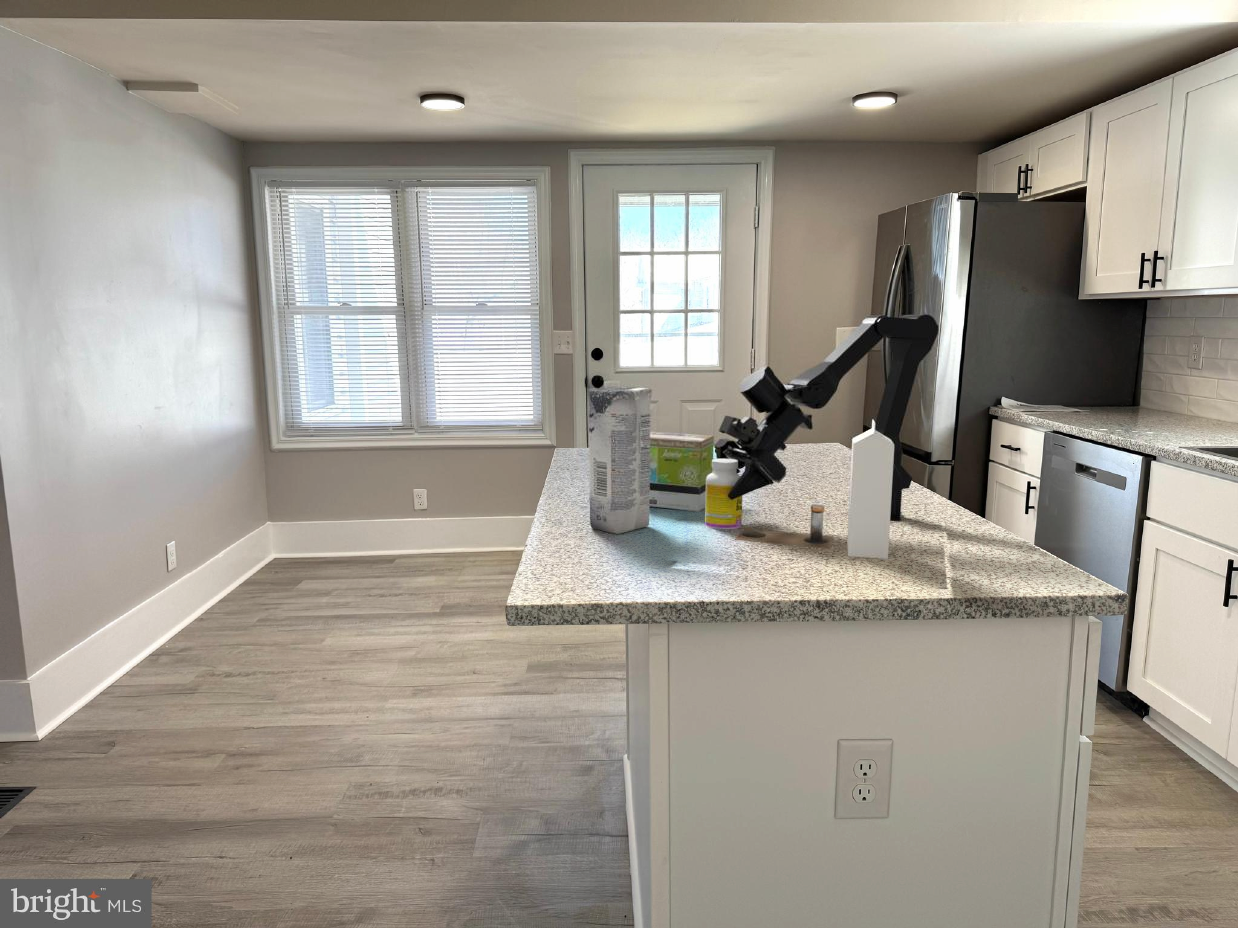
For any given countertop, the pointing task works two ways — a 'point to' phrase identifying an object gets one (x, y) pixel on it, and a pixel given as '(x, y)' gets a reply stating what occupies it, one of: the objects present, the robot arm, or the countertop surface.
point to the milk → (870, 495)
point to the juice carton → (619, 457)
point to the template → (783, 538)
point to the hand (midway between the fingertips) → (718, 493)
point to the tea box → (679, 470)
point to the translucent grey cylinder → (816, 523)
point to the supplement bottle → (722, 496)
